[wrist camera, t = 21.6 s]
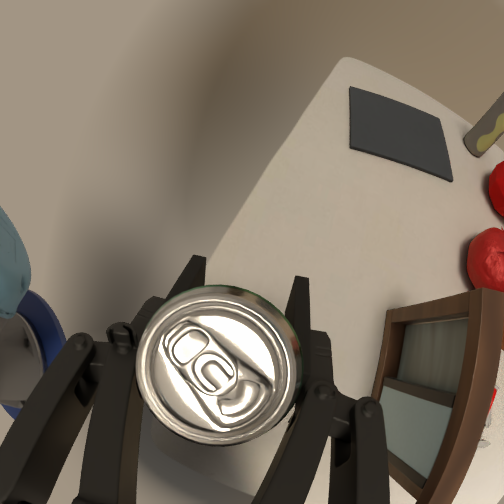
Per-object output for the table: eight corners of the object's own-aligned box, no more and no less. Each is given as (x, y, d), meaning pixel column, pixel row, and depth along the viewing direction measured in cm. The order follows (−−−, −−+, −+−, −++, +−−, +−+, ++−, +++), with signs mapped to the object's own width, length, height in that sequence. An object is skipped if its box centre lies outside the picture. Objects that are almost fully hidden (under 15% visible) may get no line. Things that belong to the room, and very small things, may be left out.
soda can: (234, 396, 17) (212, 486, 6) (184, 342, 18) (91, 356, 7) (289, 347, 18) (349, 374, 7) (238, 294, 19) (219, 239, 8)
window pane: (366, 442, 23) (421, 489, 11) (384, 376, 25) (454, 395, 13) (374, 442, 23) (430, 487, 11) (391, 376, 25) (463, 394, 13)
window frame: (353, 454, 24) (417, 522, 9) (386, 310, 29) (482, 287, 14) (375, 454, 24) (445, 513, 9) (407, 313, 29) (505, 292, 13)
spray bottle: (461, 132, 37) (514, 66, 18) (478, 143, 37) (532, 83, 18) (464, 150, 36) (524, 83, 17) (482, 162, 36) (542, 101, 16)
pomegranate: (448, 270, 30) (494, 250, 21) (471, 223, 32) (509, 198, 23) (484, 316, 28) (529, 307, 19) (503, 266, 30) (542, 250, 21)
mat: (349, 148, 35) (350, 145, 34) (349, 88, 39) (349, 85, 38) (451, 182, 34) (453, 180, 33) (438, 120, 38) (439, 118, 37)
